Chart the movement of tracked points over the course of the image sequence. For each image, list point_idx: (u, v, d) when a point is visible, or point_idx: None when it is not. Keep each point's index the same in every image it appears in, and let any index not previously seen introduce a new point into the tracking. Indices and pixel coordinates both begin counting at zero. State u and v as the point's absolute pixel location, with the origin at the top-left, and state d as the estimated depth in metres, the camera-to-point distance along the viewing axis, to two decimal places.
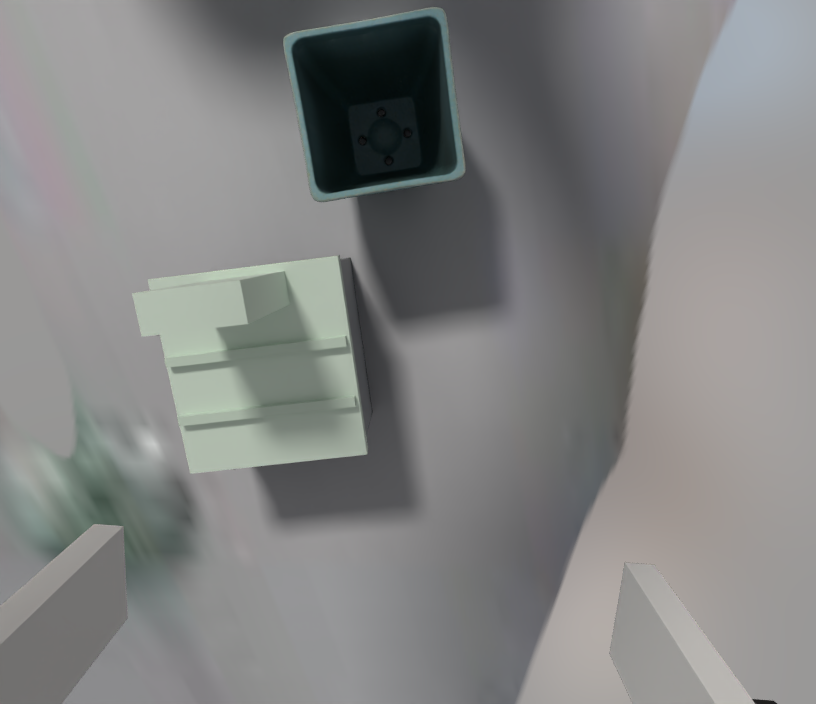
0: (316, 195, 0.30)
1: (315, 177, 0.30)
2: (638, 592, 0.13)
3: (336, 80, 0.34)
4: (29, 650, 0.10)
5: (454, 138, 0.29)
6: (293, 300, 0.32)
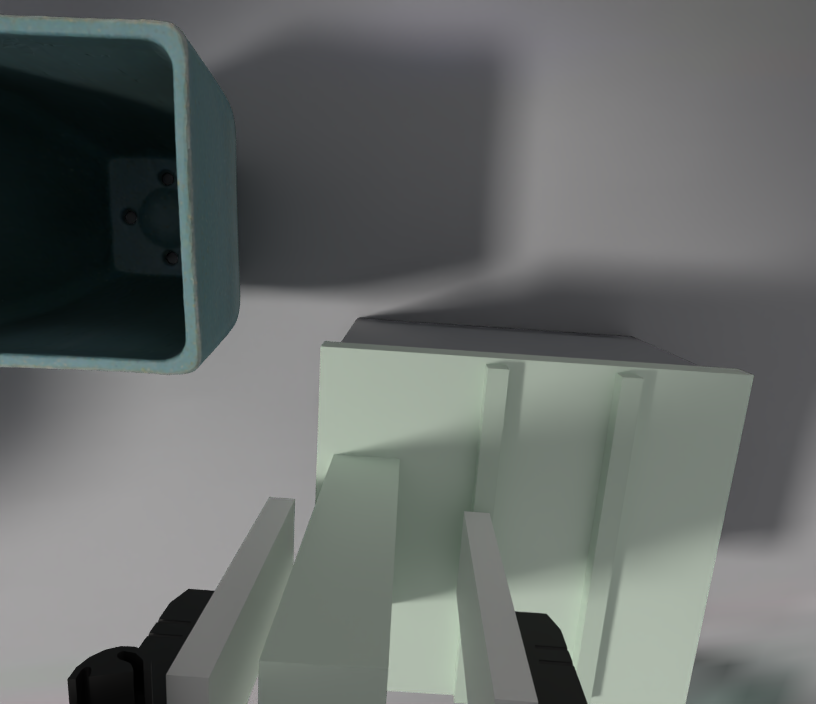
0: (186, 365, 0.14)
1: (153, 357, 0.15)
2: (466, 534, 0.15)
3: (51, 279, 0.20)
4: (260, 596, 0.12)
5: (97, 36, 0.13)
6: (393, 450, 0.16)
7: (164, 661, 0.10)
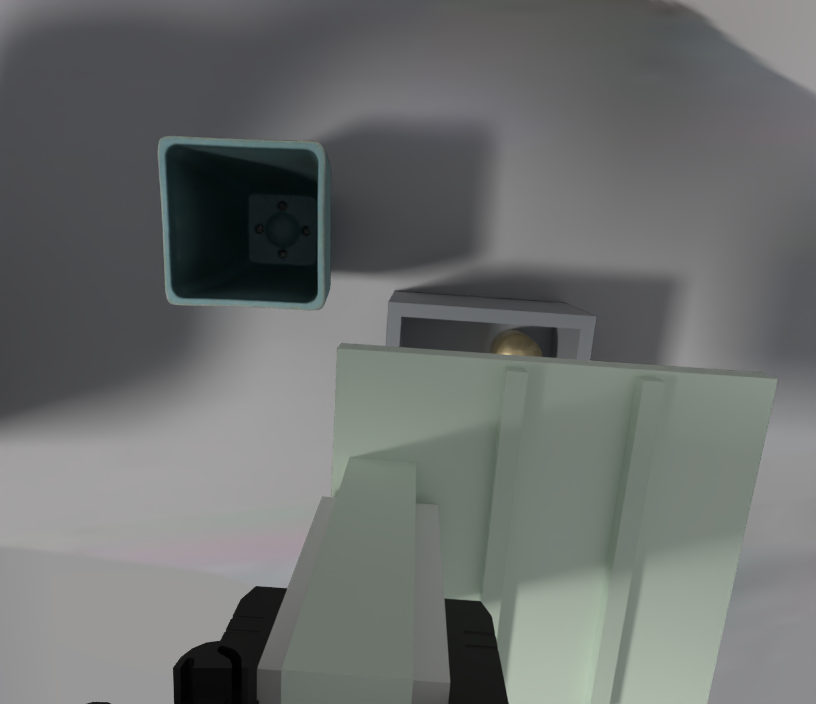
0: (317, 305, 0.29)
1: (300, 302, 0.29)
2: None
3: (221, 265, 0.35)
4: None
5: (283, 148, 0.27)
6: (410, 453, 0.16)
7: None
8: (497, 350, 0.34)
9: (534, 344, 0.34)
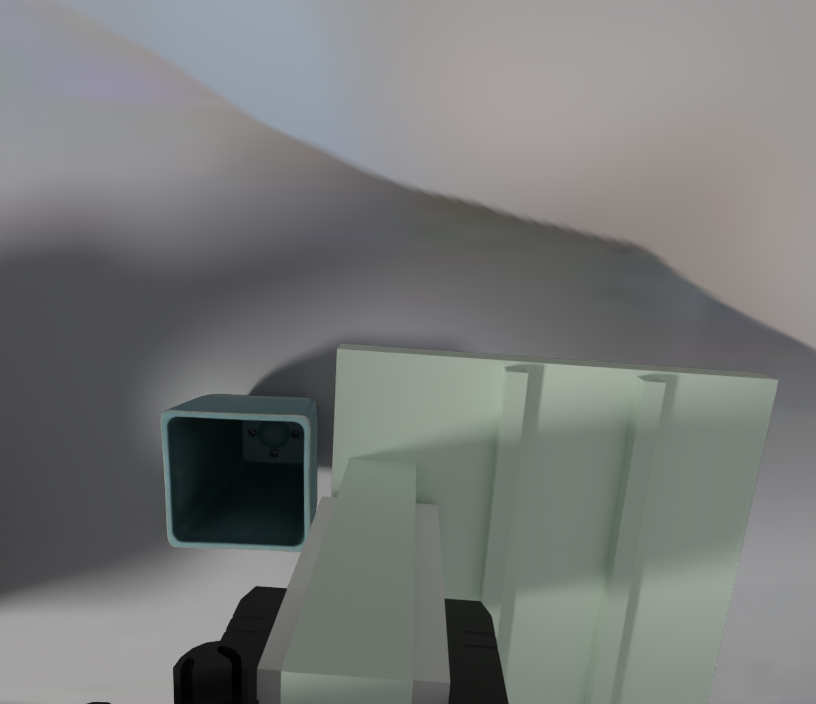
0: None
1: (289, 543, 0.32)
2: None
3: (218, 476, 0.38)
4: None
5: (273, 420, 0.31)
6: (410, 454, 0.16)
7: None
8: None
9: None
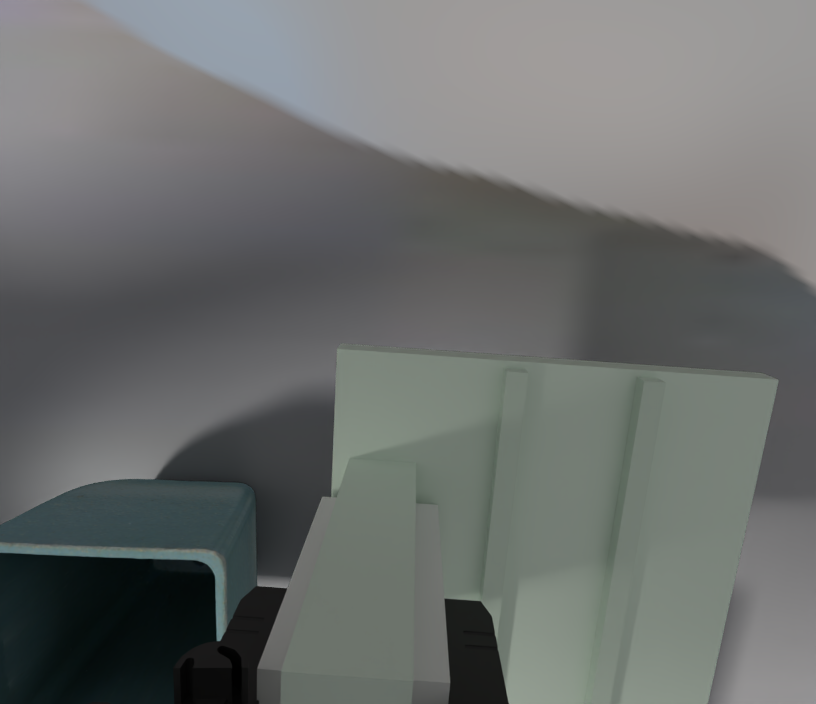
0: None
1: None
2: None
3: (106, 605, 0.24)
4: None
5: (160, 558, 0.17)
6: (410, 454, 0.16)
7: None
8: None
9: None
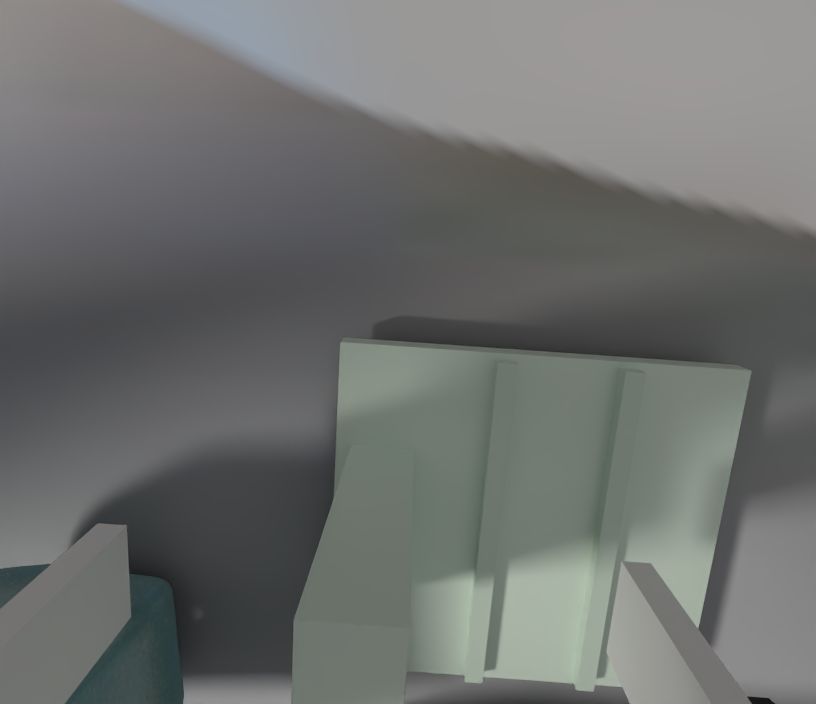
0: None
1: None
2: (635, 591, 0.13)
3: None
4: (34, 648, 0.10)
5: None
6: (408, 441, 0.17)
7: None
8: None
9: None
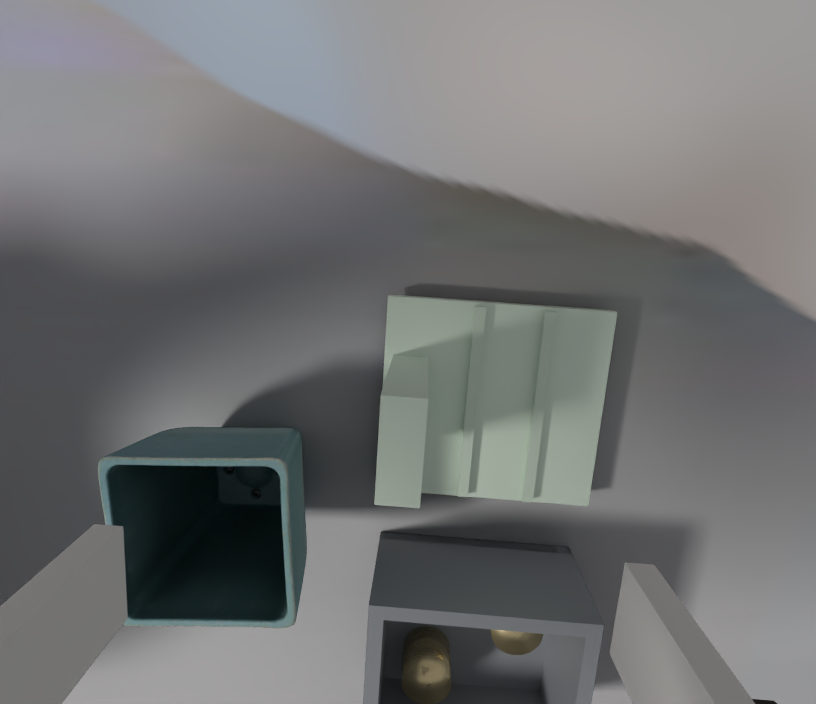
0: (287, 624, 0.25)
1: (268, 617, 0.26)
2: (639, 592, 0.13)
3: (187, 526, 0.31)
4: (29, 650, 0.10)
5: (240, 465, 0.24)
6: (425, 352, 0.30)
7: None
8: None
9: None
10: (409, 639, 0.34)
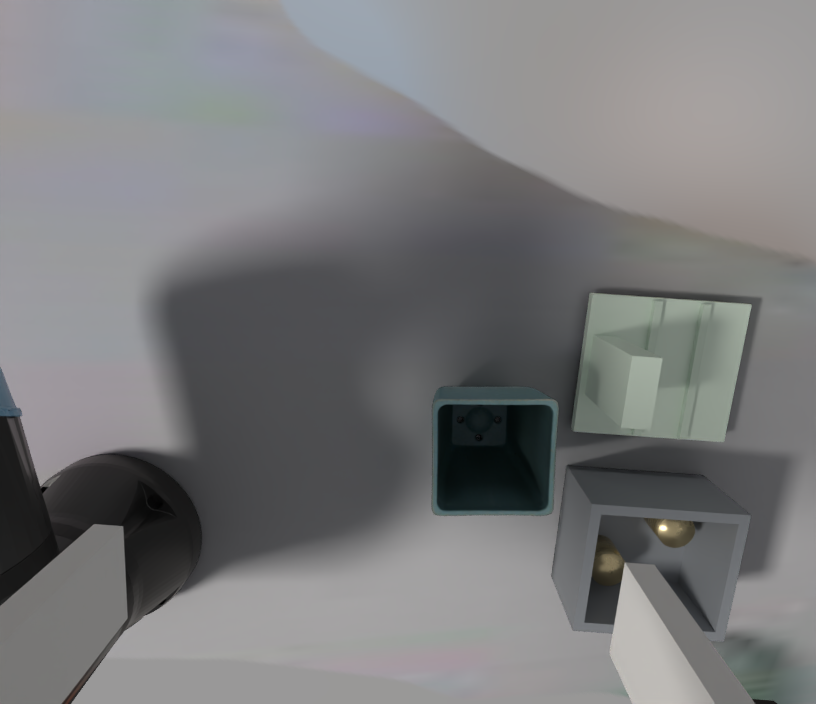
0: (547, 512, 0.38)
1: (533, 509, 0.38)
2: (638, 592, 0.13)
3: (441, 458, 0.44)
4: (29, 650, 0.10)
5: (527, 404, 0.37)
6: (616, 333, 0.43)
7: None
8: (659, 524, 0.44)
9: None
10: None
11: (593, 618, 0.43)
